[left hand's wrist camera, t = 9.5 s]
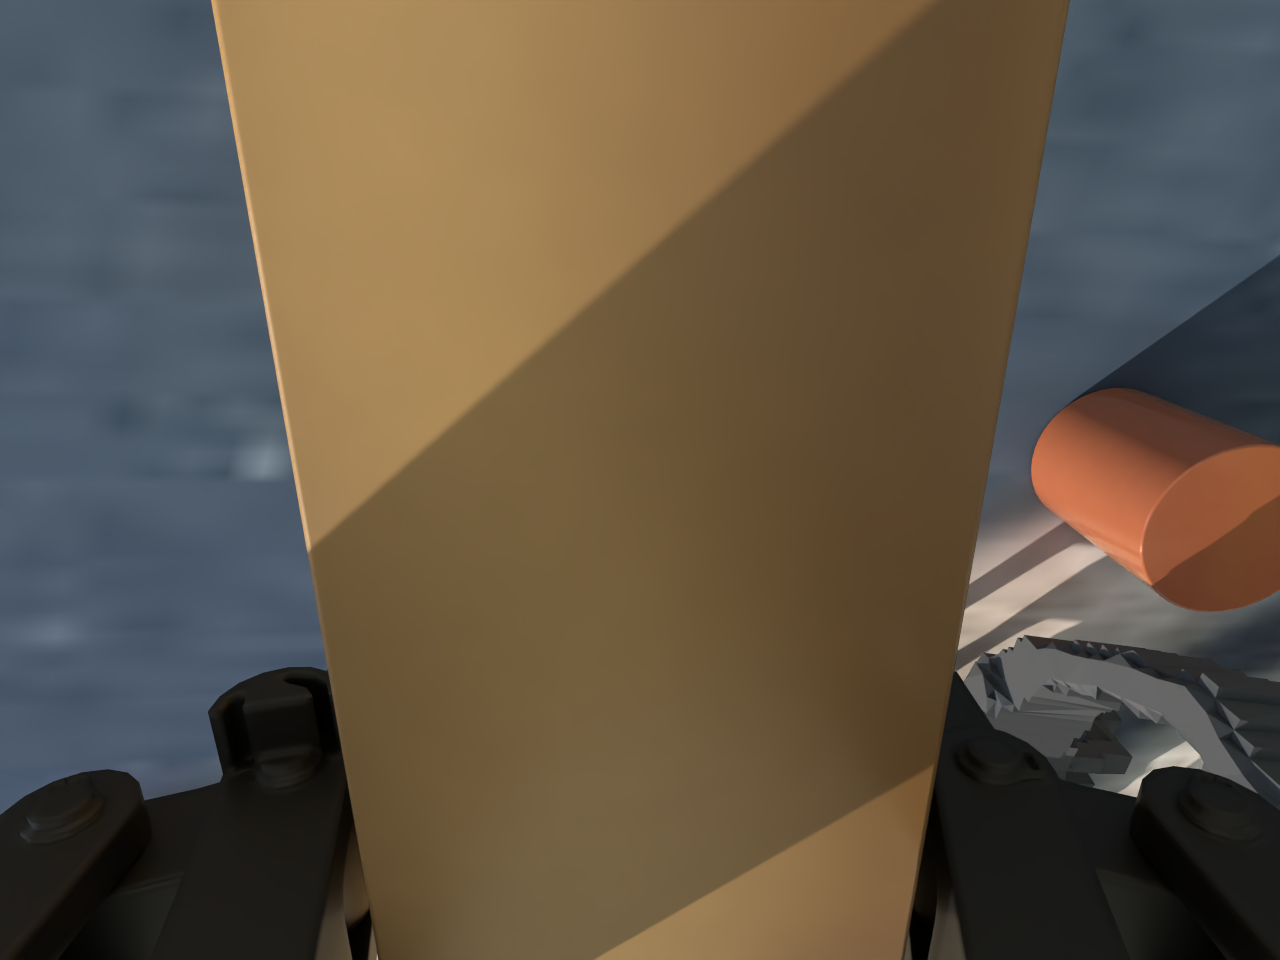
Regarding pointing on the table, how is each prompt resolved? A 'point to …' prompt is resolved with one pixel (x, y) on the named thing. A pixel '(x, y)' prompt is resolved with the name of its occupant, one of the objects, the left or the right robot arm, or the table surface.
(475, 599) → the oak bar
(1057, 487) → the orange glossy cylinder
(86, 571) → the table surface
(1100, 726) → the toy
